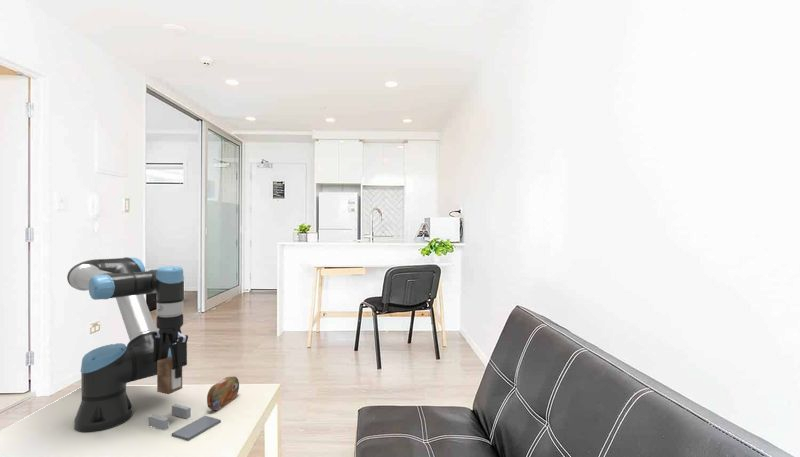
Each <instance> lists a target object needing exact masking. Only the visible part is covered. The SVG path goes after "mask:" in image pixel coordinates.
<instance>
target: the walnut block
mask: <svg viewBox="0 0 800 457" xmlns="http://www.w3.org/2000/svg"><path fill="white" fill-rule="evenodd" d="M177 364H178V363H177ZM172 368H173V361H172V356H170V357H167V358H164V359H161V360H158V361H157V375H156V376H157V378H156V379H157V381H156V382H157V383H156V384H157V386H156V387H157V388H156V392H157V393H162V394H165V395H170V394H173V393H174V392H175V393H176V392H177V391H180V390H181V389H183V375H182V376H181V386H180V387H178V388H175V389H172ZM181 373H182V374H183V371H182V372H181Z"/></svg>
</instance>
